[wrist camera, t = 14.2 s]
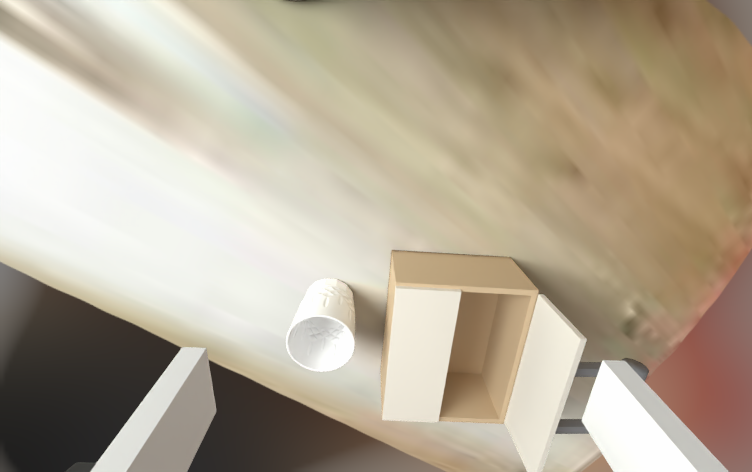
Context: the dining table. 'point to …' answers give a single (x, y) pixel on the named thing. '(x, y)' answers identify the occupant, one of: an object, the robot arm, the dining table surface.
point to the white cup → (323, 327)
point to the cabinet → (453, 336)
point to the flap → (548, 384)
